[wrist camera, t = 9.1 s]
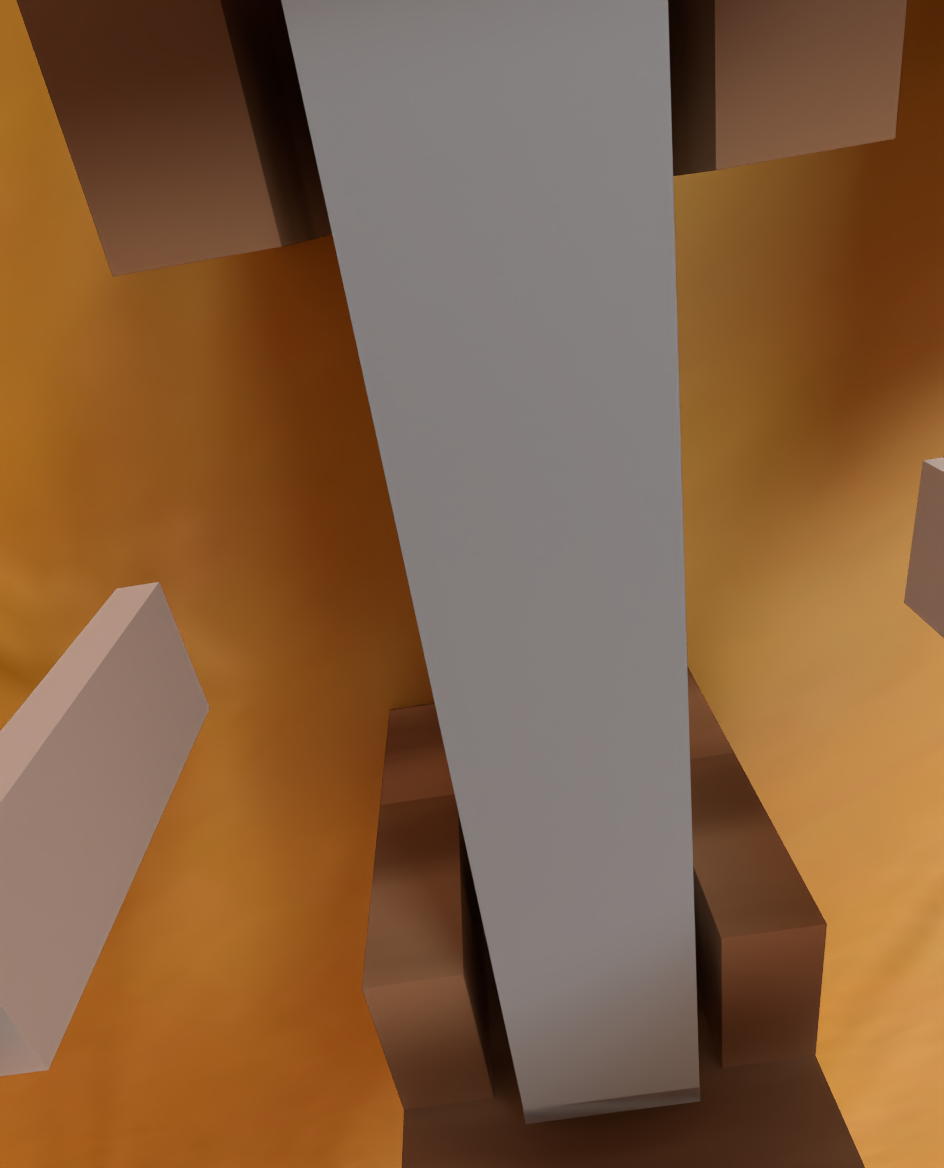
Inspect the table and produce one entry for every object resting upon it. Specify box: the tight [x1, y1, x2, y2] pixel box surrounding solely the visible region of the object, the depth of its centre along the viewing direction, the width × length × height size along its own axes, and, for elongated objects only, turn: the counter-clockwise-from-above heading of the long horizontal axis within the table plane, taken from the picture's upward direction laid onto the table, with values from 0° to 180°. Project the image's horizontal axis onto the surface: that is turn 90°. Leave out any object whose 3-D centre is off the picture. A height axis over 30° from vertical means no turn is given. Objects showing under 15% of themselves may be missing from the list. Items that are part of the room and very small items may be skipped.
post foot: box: [362, 666, 865, 1168], centre depth 18 cm, size 5×9×12 cm, turn 99°
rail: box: [281, 0, 700, 1124], centre depth 13 cm, size 19×4×6 cm, turn 9°
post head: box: [17, 0, 907, 276], centre depth 10 cm, size 5×9×12 cm, turn 99°
